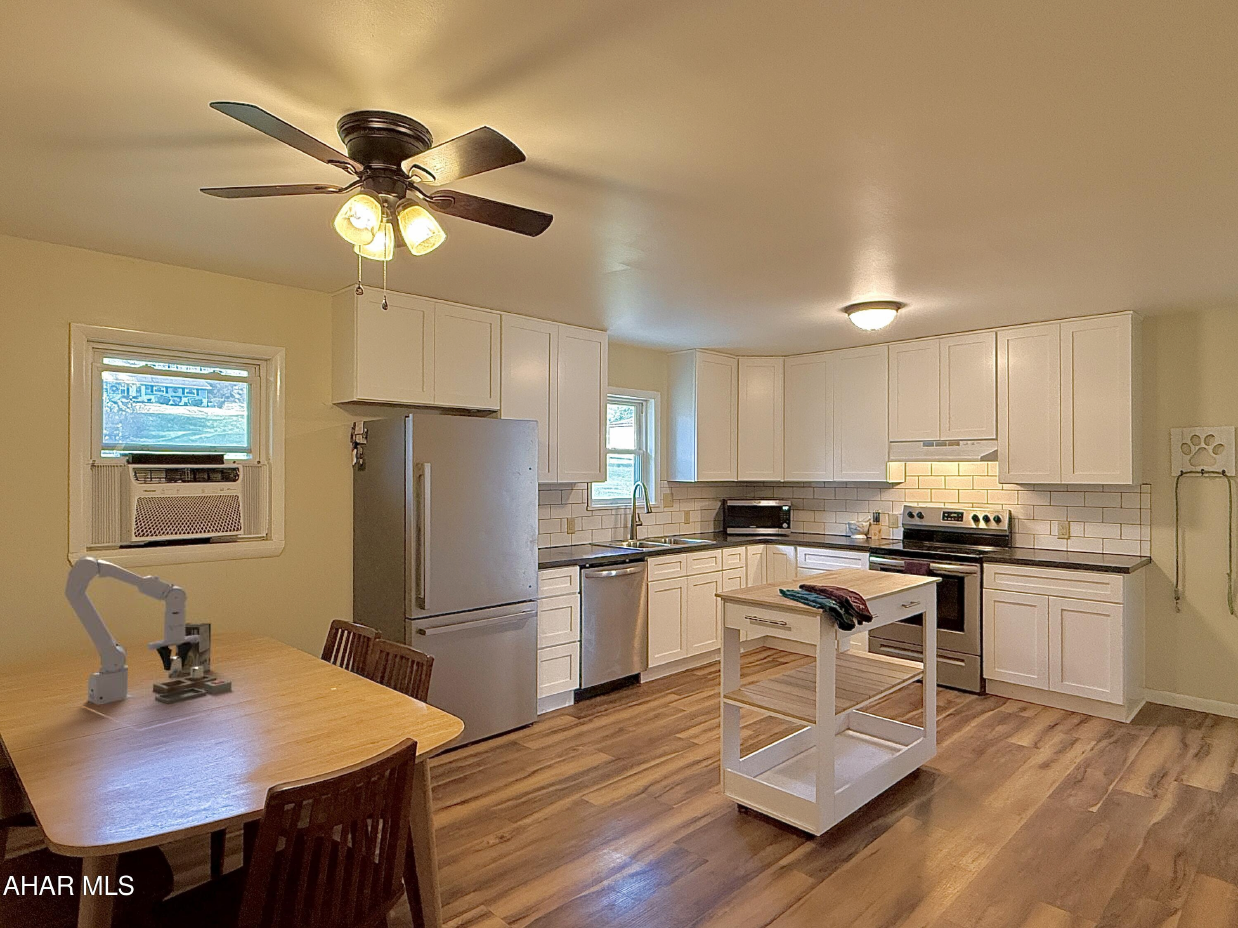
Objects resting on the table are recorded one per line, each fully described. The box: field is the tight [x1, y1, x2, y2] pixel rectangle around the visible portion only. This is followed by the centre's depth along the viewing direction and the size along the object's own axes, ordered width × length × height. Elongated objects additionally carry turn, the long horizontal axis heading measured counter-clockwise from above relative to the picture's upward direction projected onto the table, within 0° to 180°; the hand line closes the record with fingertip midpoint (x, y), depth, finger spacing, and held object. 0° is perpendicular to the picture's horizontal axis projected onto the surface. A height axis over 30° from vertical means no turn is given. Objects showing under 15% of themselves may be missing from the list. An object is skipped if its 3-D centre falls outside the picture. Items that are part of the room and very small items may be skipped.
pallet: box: [152, 673, 218, 695], centre depth 232 cm, size 15×9×2 cm, turn 146°
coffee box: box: [174, 622, 212, 674], centre depth 254 cm, size 9×6×16 cm
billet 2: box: [189, 666, 204, 682], centre depth 235 cm, size 4×4×6 cm
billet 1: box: [167, 656, 183, 679], centre depth 229 cm, size 4×4×6 cm
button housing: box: [203, 678, 233, 695], centre depth 229 cm, size 6×6×3 cm
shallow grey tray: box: [154, 688, 207, 705], centre depth 222 cm, size 11×8×2 cm
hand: (174, 668), depth 230 cm, fingers closed on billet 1, 4 cm apart
